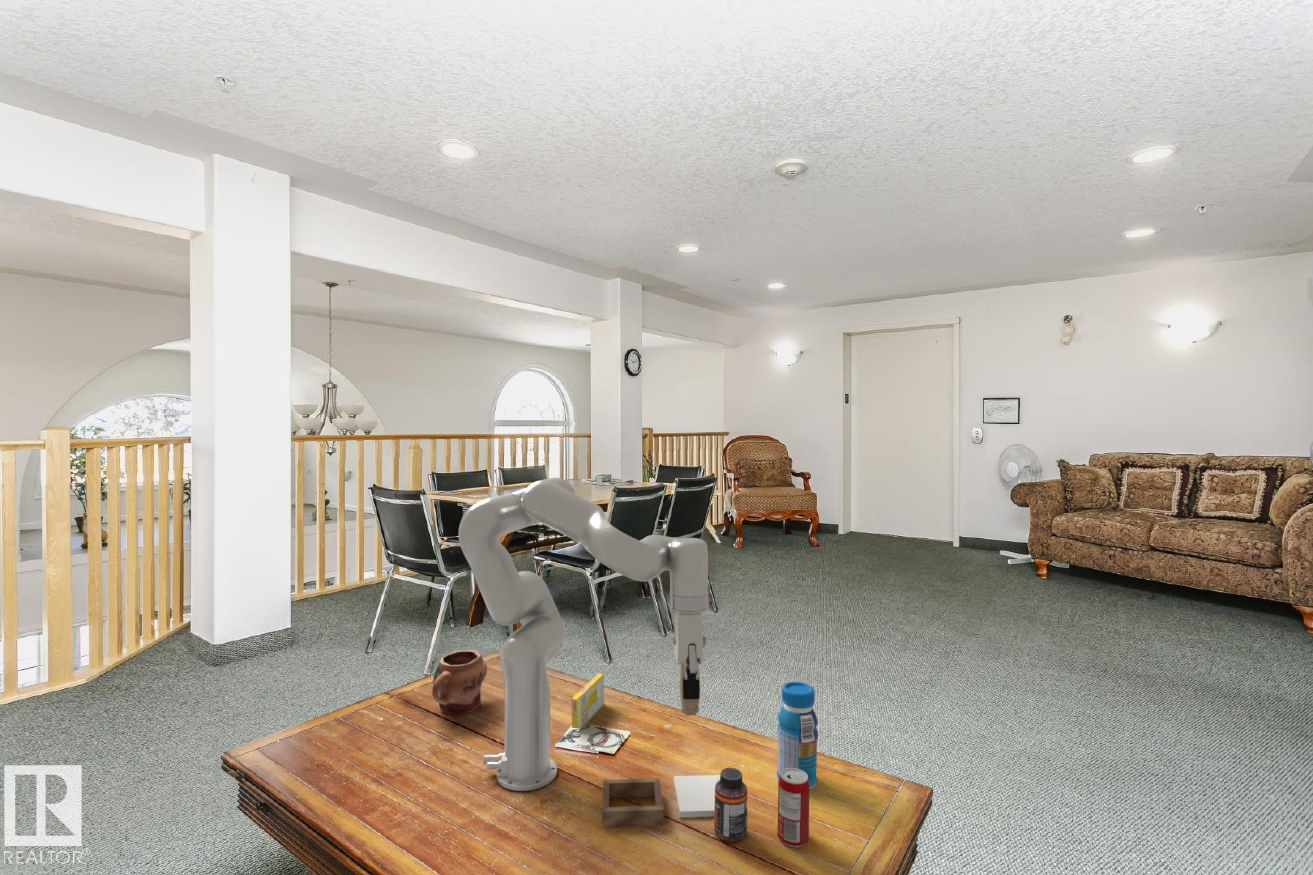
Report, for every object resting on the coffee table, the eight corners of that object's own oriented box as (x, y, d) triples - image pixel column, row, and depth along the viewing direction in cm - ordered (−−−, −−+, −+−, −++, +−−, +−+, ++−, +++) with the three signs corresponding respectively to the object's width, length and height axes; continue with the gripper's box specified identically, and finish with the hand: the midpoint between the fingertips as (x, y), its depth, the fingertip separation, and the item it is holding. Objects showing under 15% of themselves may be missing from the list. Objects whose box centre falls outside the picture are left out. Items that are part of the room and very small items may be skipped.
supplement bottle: (711, 823, 118) (712, 764, 118) (742, 822, 119) (743, 763, 119) (717, 844, 112) (718, 782, 112) (750, 843, 113) (751, 781, 113)
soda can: (803, 828, 117) (805, 765, 117) (812, 848, 112) (813, 781, 111) (774, 828, 117) (775, 765, 117) (781, 848, 112) (782, 782, 111)
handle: (701, 720, 121) (700, 643, 121) (670, 715, 124) (669, 639, 123) (709, 710, 126) (708, 635, 125) (679, 705, 128) (678, 632, 128)
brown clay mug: (459, 731, 152) (459, 674, 152) (414, 725, 155) (414, 669, 154) (497, 696, 172) (497, 645, 171) (456, 691, 174) (456, 642, 174)
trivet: (679, 817, 120) (679, 811, 120) (673, 781, 132) (673, 776, 132) (741, 815, 121) (741, 809, 121) (730, 780, 133) (730, 774, 133)
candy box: (597, 703, 169) (597, 672, 168) (604, 704, 168) (605, 673, 168) (570, 731, 153) (570, 697, 153) (578, 732, 153) (578, 698, 152)
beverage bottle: (773, 787, 130) (774, 692, 130) (779, 766, 138) (781, 676, 138) (814, 796, 127) (816, 698, 127) (819, 774, 135) (820, 682, 135)
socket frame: (602, 827, 117) (602, 811, 117) (603, 794, 127) (603, 779, 127) (663, 825, 118) (663, 809, 118) (659, 792, 128) (659, 778, 128)
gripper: (667, 590, 132) (668, 677, 133) (673, 614, 116) (674, 713, 116) (702, 590, 133) (703, 676, 133) (713, 613, 116) (714, 711, 116)
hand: (690, 692), depth 125 cm, fingers closed on handle, 4 cm apart
